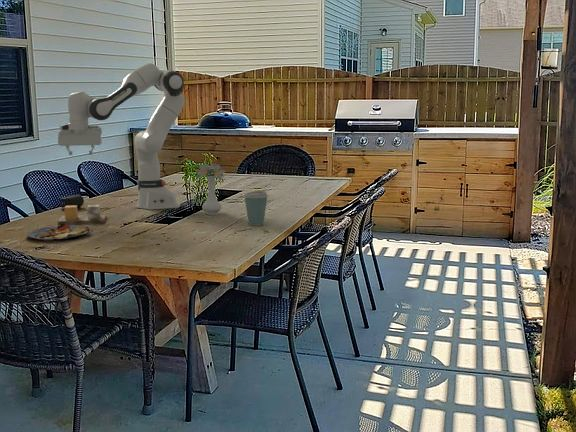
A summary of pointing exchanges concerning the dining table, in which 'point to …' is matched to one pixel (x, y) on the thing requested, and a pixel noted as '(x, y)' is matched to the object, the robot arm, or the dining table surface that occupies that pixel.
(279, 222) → the dining table surface
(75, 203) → the end cap
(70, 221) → the peg board
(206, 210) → the flower vase
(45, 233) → the food plate
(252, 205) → the disposable coffee cup
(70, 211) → the tan wooden cube
